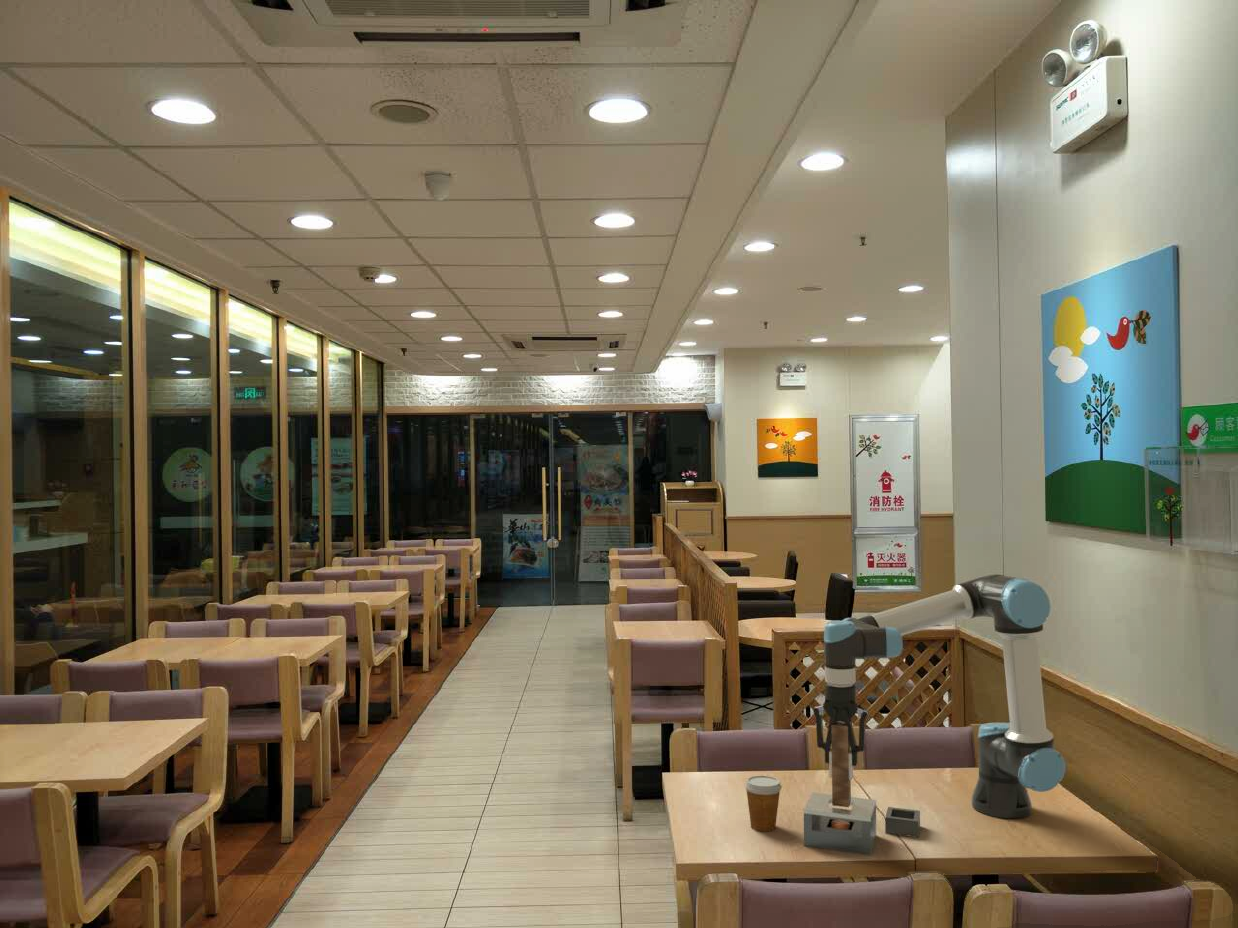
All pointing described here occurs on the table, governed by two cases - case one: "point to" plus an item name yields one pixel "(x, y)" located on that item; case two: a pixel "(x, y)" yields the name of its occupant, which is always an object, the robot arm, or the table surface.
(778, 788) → the disposable coffee cup
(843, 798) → the brown wooden bar
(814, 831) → the box
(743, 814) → the table surface
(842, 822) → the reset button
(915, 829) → the gray square socket
